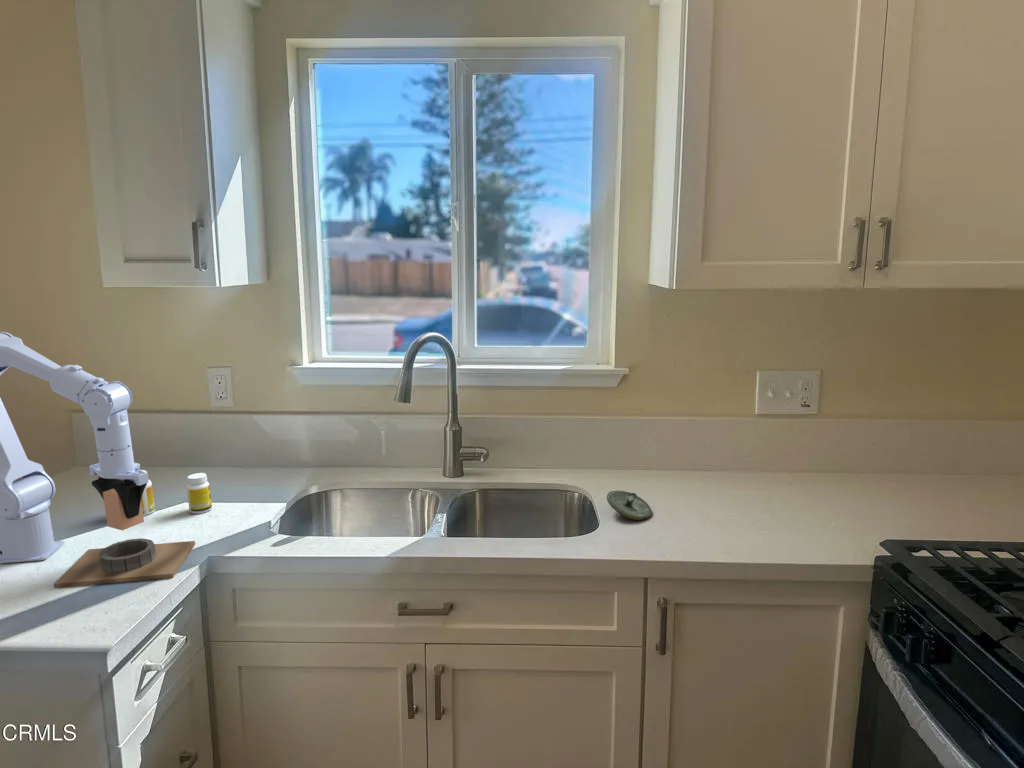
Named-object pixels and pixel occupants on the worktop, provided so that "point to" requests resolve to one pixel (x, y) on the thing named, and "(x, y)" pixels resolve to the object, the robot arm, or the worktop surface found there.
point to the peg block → (119, 512)
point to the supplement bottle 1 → (147, 499)
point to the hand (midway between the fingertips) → (124, 514)
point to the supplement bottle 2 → (198, 493)
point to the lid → (629, 505)
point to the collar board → (146, 572)
